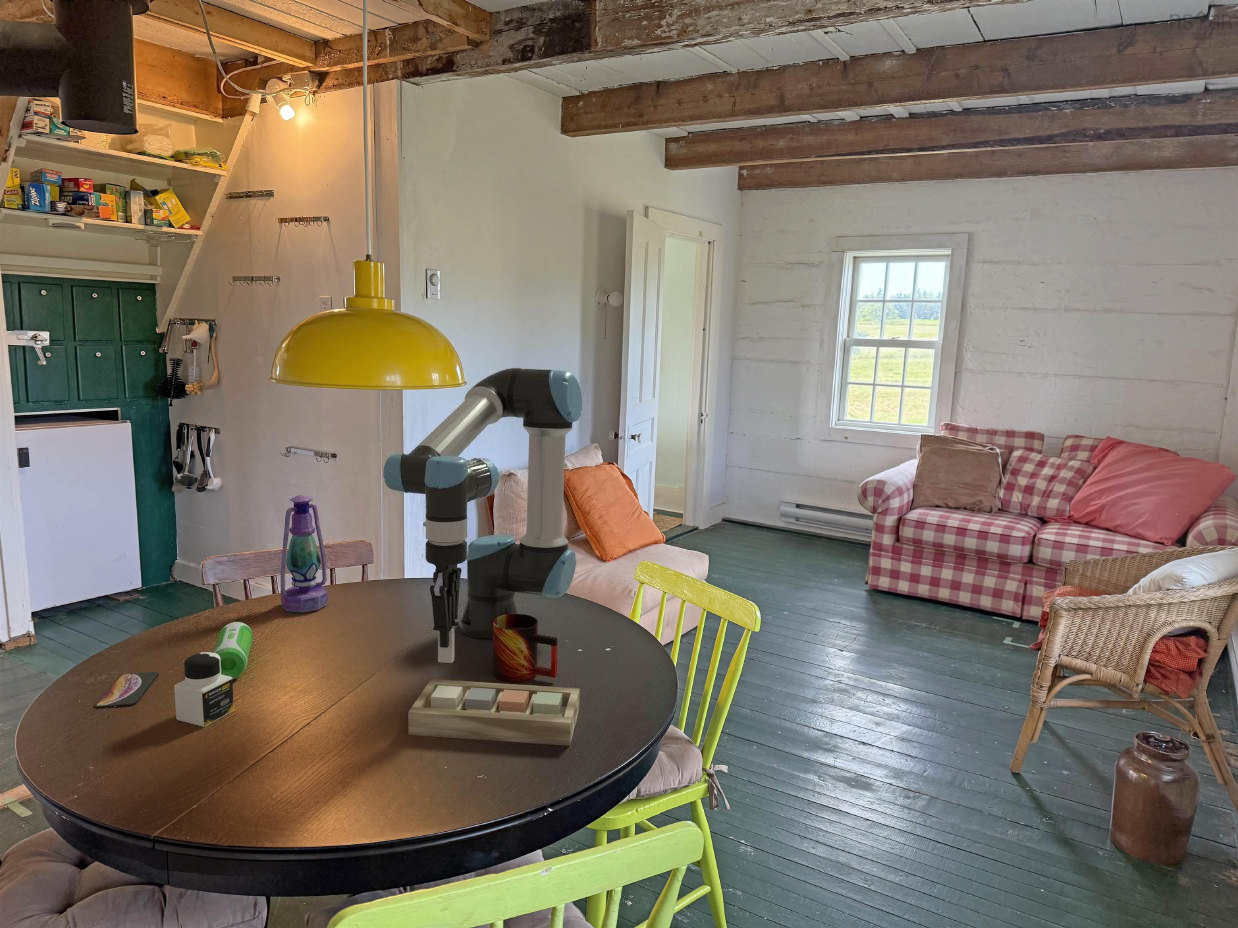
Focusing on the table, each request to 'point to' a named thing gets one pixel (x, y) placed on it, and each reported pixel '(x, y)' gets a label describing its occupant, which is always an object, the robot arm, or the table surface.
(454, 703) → the key ivory
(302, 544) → the lantern
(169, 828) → the table surface
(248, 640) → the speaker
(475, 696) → the key slate
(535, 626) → the mug
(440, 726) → the wooden compartment tray
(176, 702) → the medicine bottle
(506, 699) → the key terracotta
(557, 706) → the key sage
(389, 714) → the table surface
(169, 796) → the table surface
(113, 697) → the smartphone
